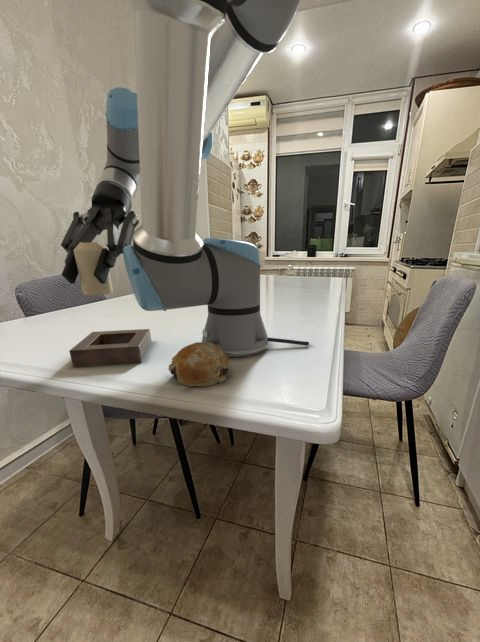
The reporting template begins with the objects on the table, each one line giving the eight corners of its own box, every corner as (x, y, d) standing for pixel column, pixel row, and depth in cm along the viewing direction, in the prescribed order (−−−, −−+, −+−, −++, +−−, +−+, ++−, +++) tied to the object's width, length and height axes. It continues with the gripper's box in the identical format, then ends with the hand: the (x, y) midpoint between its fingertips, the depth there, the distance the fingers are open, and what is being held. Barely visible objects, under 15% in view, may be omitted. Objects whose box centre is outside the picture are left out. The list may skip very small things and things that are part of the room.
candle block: (151, 342, 70) (149, 328, 69) (141, 362, 59) (138, 346, 57) (95, 346, 68) (92, 331, 67) (73, 367, 56) (68, 350, 55)
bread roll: (208, 409, 49) (225, 372, 46) (154, 381, 49) (168, 341, 46) (226, 383, 58) (242, 350, 55) (181, 359, 58) (194, 325, 55)
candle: (95, 291, 63) (85, 242, 60) (118, 291, 62) (110, 241, 59) (76, 295, 58) (64, 242, 54) (102, 295, 57) (91, 241, 54)
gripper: (160, 210, 68) (139, 291, 58) (85, 211, 69) (51, 291, 59) (147, 179, 61) (120, 265, 51) (64, 181, 62) (22, 266, 53)
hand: (83, 279), depth 55 cm, fingers closed on candle, 5 cm apart
